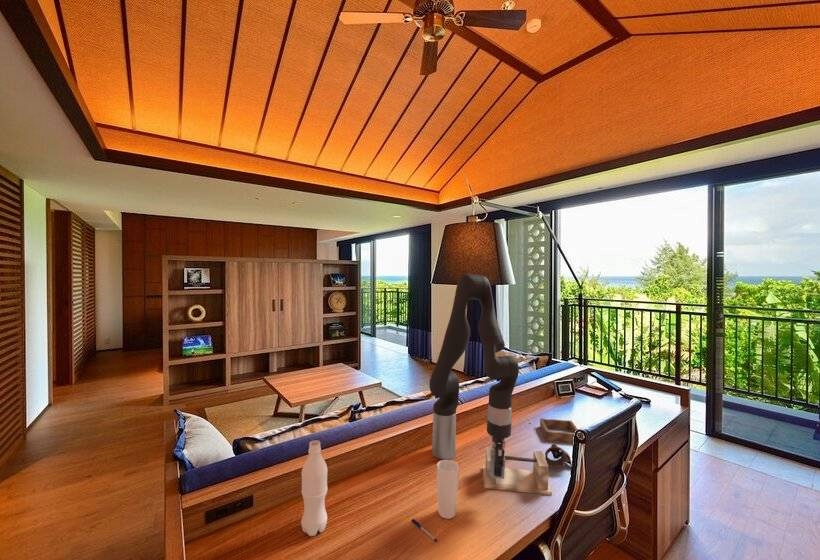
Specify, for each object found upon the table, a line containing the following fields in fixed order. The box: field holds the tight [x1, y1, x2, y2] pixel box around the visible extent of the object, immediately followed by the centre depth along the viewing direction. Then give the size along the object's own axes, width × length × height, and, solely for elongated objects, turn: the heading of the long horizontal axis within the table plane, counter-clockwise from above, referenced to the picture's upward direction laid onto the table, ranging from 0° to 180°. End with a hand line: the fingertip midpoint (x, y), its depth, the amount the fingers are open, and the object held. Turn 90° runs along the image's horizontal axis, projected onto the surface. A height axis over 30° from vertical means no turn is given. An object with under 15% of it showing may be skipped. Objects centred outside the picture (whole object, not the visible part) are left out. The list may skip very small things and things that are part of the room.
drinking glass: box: [436, 459, 460, 520], centre depth 107 cm, size 7×7×15 cm
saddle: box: [490, 450, 506, 479], centre depth 112 cm, size 4×5×6 cm
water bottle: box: [300, 439, 329, 537], centre depth 100 cm, size 7×7×25 cm
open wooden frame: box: [539, 418, 579, 444], centre depth 160 cm, size 14×14×4 cm
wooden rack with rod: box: [482, 446, 553, 496], centre depth 124 cm, size 22×12×9 cm, turn 81°
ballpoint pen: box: [411, 518, 438, 543], centre depth 100 cm, size 10×1×1 cm, turn 41°
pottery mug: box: [544, 443, 572, 469], centre depth 135 cm, size 12×10×8 cm
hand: (497, 470), depth 112 cm, fingers closed on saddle, 5 cm apart
